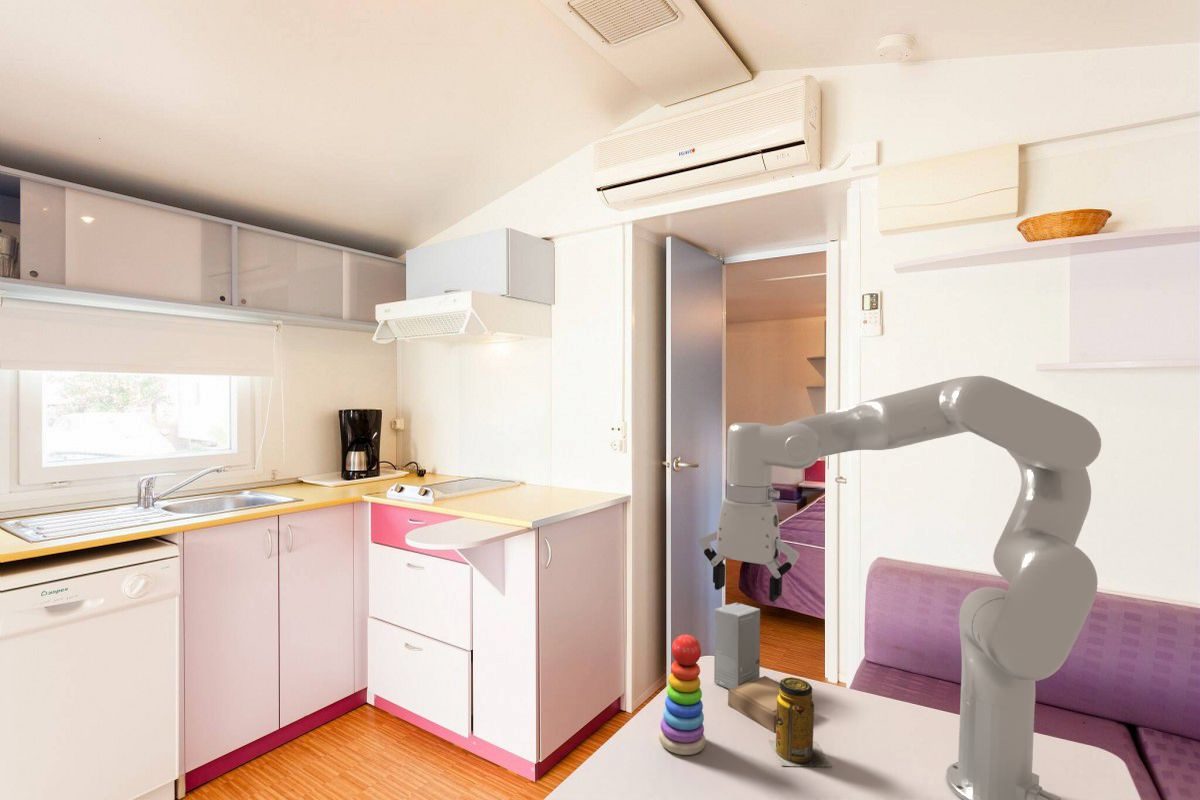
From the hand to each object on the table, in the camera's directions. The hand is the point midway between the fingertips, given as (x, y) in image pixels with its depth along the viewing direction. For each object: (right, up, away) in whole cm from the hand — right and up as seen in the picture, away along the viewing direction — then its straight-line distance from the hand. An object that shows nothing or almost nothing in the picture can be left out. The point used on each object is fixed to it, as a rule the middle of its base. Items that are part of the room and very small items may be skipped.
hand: (746, 593), depth 102 cm
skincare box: (+4, -27, +23) cm, 36 cm away
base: (+8, -27, +13) cm, 31 cm away
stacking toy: (-11, -27, +1) cm, 29 cm away
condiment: (+9, -27, -1) cm, 29 cm away
